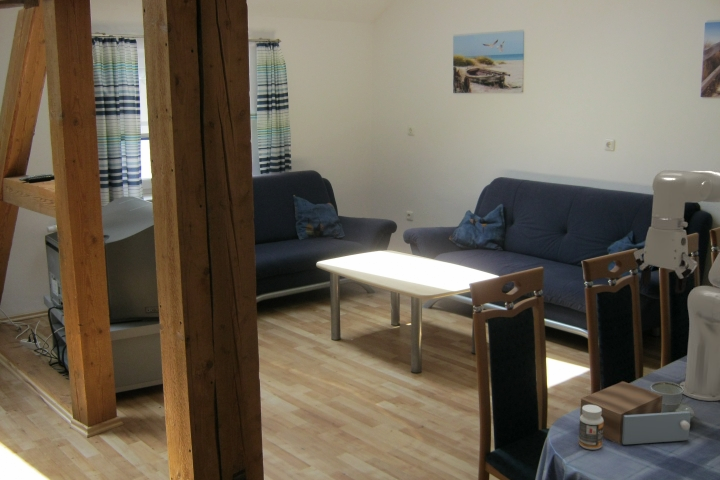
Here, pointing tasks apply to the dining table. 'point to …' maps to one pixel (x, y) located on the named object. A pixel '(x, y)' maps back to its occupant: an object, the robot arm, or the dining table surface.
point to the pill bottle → (591, 427)
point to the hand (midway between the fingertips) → (662, 288)
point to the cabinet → (622, 406)
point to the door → (656, 427)
